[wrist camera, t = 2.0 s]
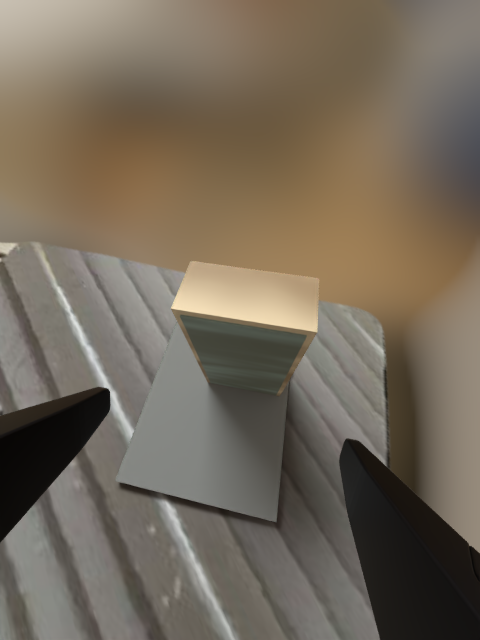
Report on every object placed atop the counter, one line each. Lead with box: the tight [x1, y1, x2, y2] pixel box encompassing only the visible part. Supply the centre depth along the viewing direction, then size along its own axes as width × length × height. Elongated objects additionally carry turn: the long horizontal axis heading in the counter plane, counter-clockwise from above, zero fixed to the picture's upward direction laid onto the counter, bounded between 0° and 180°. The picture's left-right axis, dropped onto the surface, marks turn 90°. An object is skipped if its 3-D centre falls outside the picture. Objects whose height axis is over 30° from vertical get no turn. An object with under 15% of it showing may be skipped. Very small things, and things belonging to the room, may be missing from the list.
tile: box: [171, 261, 319, 396], centre depth 16 cm, size 3×6×12 cm, turn 79°
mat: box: [115, 322, 289, 522], centre depth 21 cm, size 17×12×1 cm
